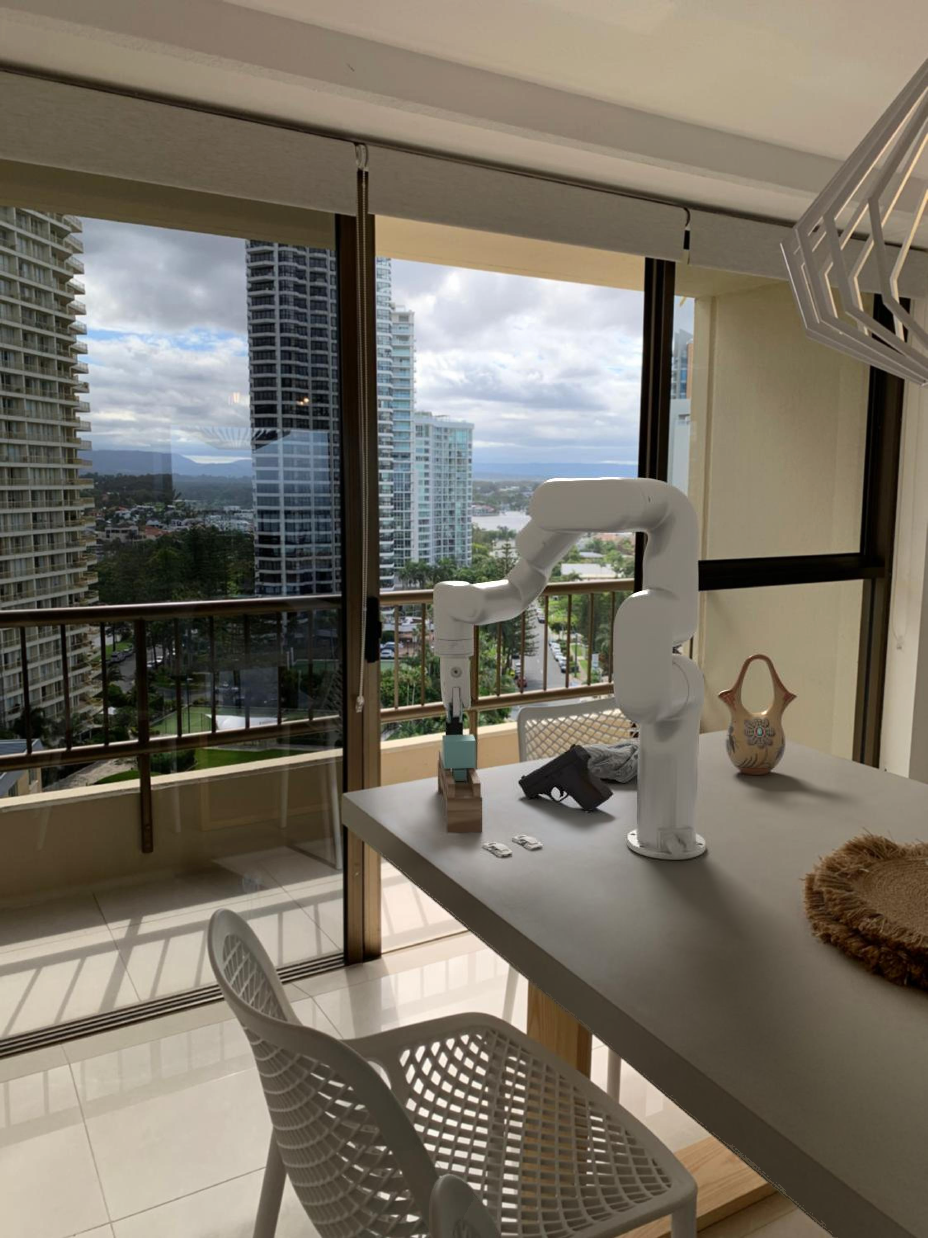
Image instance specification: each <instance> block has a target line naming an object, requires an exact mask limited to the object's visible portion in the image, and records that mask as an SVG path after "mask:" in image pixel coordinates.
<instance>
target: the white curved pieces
mask: <svg viewBox="0 0 928 1238" xmlns="http://www.w3.org/2000/svg"><path fill="white" fill-rule="evenodd" d="M511 841H512V842H514V843H517V844H518V843H523V842H526V843H525V844H524V845H523V848H524V847H525V849H527V850H529V851H532V850H537V849H541V848H542V847H543V846H544V845H543V843H541V842H540V841H538V840H537V838H536V837H533V836H528V835H527V834H520V835H516V836H513V837H512V838H511ZM481 848H483V849H485V850H490V852H492V853H493V854H495V856H496V857H499V858H502V857H507V856H508V855H513V850H511V849H510V848H509V847H508V846H507V845H506V844H503V843H498V842H497V841H492V842H487V843H483V844H482V845H481ZM494 849H496V850H494Z"/></svg>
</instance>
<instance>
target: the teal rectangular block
mask: <svg viewBox="0 0 928 1238" xmlns="http://www.w3.org/2000/svg"><path fill="white" fill-rule="evenodd" d="M441 739H442V741H441V743H442V749H443V765H444V769H452V775H453V779H454V781H465V780H466V768H475V769H476V765H477V764H476V763H477V762H476V760H477V759H476V756H477V755H476V750H477V749H476V748H477V747H476V746H477V745H476V744H477V743H476V739H475V736H474V734H472V733H471V734H463V735H446V734H443V735H442V738H441Z"/></svg>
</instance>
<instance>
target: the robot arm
mask: <svg viewBox="0 0 928 1238" xmlns="http://www.w3.org/2000/svg"><path fill="white" fill-rule="evenodd" d="M528 511H529V516H530V518H531V519H530V520H529V521H528V522H527V523H526V524H525V525H524V527H522V528H521V530H520V531H519V532H518V533H517V534H516V535H515V536H516V537H515V539H514V541H515V542H514V545H515V546H514V547H515V548H516V551H517V552H518V554H519V556H520V559H519V561H518V562H517V563H516V564H515V565H514V566H513V568H512V569H510V571H509V572H508V573H507V574H506V575H505V576H504V577H503V578H502V579H501V580H494V581H484V582H479V583H473V584H472V583H470V582H468V581H460V580H446V581H440V582H438V583H436V584H435V585H434V586H433V596H432V597H433V600H432V601H433V606H432V607H433V656H435V657H438V658H439V661H440V662H439V672H440V673H439V675H440V677H439V678H440V692H441V700H442V704H443V706H444V708H445V714H446V715H445V716H446V717H445V718H446V719H445V723H444V727H445V730H444V731H445V735H464V722H463V706H464V708H466V709H467V710H469V709H470V708H471V706H472V703H471V701H472V700H471V676H470V673H471V671H470V659H469V658H470V657H472V656H474V652H475V649H474V647H475V645H474V642H475V641H474V640H475V639H474V637H475V636H474V630H475V629H474V626H484V625H488V624H489V625H490V624H493V623H499V622H505V621H509V620H512V619H514V618H516V617H518V616H519V615H521V614H522V613H523V612H524V611H525V610H526V609H528V608H529V607H530V606H531V604H533V603H534V601H536V599H538V597H539V596H540V595H542V593H543V592H544V590H545V589H546V587H547V585H548V584H549V581H550V579H551V576H552V572H553V569H554V567H555V566H556V565H557V564H558V563H559V562H560V561H561V560H562V559H563V558H564V557H565V556H566V554H568V552H569V551H571V550H572V548H573V547H574V546H575V545H576V544H577V543H578V542H579V541H580V540H581V539H582V538H583V537H584V536H586V535H587V534H627V533H637V532H638V533H640V532H641V533H645V534H647V543H646V545H645V549H644V553H643V557H642V558H643V559H642V575H643V577H642V590H641V591H638V592H635V593H633V594H631V595H629V596H628V597H627V598H626V599H624V600H623V601H622V603H621V604H620V606H619V608H618V609H617V612H616V615H615V618H614V622H613V643H612V645H613V646H612V647H613V648H612V650H613V653H612V655H613V656H612V657H613V658H612V659H613V661H612V662H613V664H612V666H613V667H612V668H613V671H612V672H613V673H612V674H613V678H612V679H613V693H614V699H615V703H616V705H617V707H618V709H619V711H620V712H621V713H622V715H623V716H624V717H625V718H626V719H628V720H629V721H631V722H632V723H634V724H638V725H639V729H638V740H637V741H638V773H637V777H636V778H637V782H636V785H637V787H636V828H635V829H633V830H632V831H629V833H627V835H626V844H627V847H628V848H629V849H631V850H632V851H633V852H635V853H637V854H639V855H641V856H645V857H648V858H652V859H653V858H654V859H660V860H669V861H670V860H671V861H673V860H675V861H676V860H677V861H678V860H688V859H693V858H695V857H698V856H700V855H702V854H704V852H705V851H706V847H707V845H706V844H707V843H706V840H705V838H704V837H703V836H701V835H700V834H698V833H697V816H698V815H697V812H698V811H697V810H698V809H697V808H698V807H697V806H698V778H699V777H698V773H699V772H698V771H699V769H698V768H699V766H698V765H699V753H700V752H699V748H700V747H699V746H700V729H701V720H702V714H703V713H702V712H703V709H704V707H703V706H704V702H705V693H706V684H705V678H704V673H703V672H702V670H701V668H700V667H699V665H698V664H697V663H696V662H695V660H693V659H691V658H690V657H688V656H686V655H683V654H681V653H680V654H679V653H673V652H674V651H673V649H674V648H675V647H677V646H680V645H683V644H684V643H686V642H689V640H690V639H692V638H693V636H694V635H695V633H696V632H697V628H698V625H699V540H700V539H699V538H700V536H699V534H700V531H699V530H700V529H699V520H698V515H697V514H698V513H697V512H696V509H695V506H694V505H693V503H692V501H691V500H690V499H689V497H688V496H687V495H686V494H685V493H684V492H683V491H682V490H680V489H679V488H677V487H676V486H674V485H672V484H670V483H669V482H666V481H663V480H658V479H655V478H649V477H645V478H644V477H598V478H552V479H549V480H548V479H547V480H546V481H544V482H542V483H541V484H539V485H538V486H537V487H536V489H534V491H533V493H532V494H531V496H530V499H529V505H528ZM673 647H674V648H673Z"/></svg>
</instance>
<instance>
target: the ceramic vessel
mask: <svg viewBox="0 0 928 1238" xmlns="http://www.w3.org/2000/svg"><path fill="white" fill-rule="evenodd" d="M757 660H762V661H764V662H765V663H766V665H767V668H768V670H769V671H768V672H769V674H770V677H771V682H772V689H773V690H772V691H773V692H772V693H773V696H772V697H773V698H772V702H771V703H770V705H769V706H768V707H767V708H765V709H764V710H762V711H759V712H751V711H749V710H747V709H746V707H745V706H744V705H743V703H742V688H743V684H744V681H745V676H746V673H747V671H748V668H749V667H750V664H751V663H753V661H757ZM775 668H776V667H775V666H774V663H773V661H772V660H771V659H770V657H769V656H767V655H765V654H762V653H755V654H752V655H750V656H749V657H747V658H746V659H745V661H744V662H743V664H742V666H741V669H740V671H739V674H738V676H737V679H736V681H735V683H734V684H733V686H732V688H731V689H730V688H729V689H726V690H723V691H720V692H719V693H718V694H717V695H716V697H717V699H718V700H720V701H721V702H722V704H723V705H724V706H725V707H726V708H727V710H728V712H729V716H730V722H729V723H730V724H729V726H728V728H727V730H726V731H727V732H726V735H725V740H724V741H725V745H724V746H725V751H726V753H727V756H728V759H729V760H730V762H731V763H732V765H733V766H734V767H735V768H736V769H737V770H738V771H739V772H741V773H742V774H746V775H751V776H762V775H766V774H768V773H769V772H771V771H772V770H774V769H775V768H776V767H777V766H778V765H779V764H780V762H782V761H781V760H782V759H783V757H784V754H785V750H786V742H787V740H786V735H785V734H786V733H785V731H784V728H783V724H782V721H783V715H784V712H785V710H786V709H787V708H788V706H789V705H791V703H792V702H793V701H794V700H795V699H797V698H798V695H796V694H794V693H792V692H790V691H789V690H788V689H787V687H786V686H785V685H784V683H783V682H782V680H781V679H780V677H779V675H778V673H777V671H776V669H775Z"/></svg>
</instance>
